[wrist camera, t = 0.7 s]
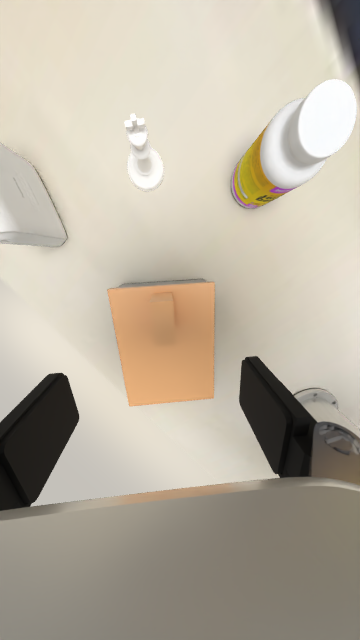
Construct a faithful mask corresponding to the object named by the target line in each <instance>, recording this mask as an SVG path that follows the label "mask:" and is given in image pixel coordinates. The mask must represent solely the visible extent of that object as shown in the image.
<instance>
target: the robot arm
mask: <svg viewBox="0 0 360 640" xmlns="http://www.w3.org/2000/svg"><path fill="white" fill-rule="evenodd" d="M239 402H240V406H241V408H242V410H243V412H244V414H245V416H246V418H247V420H248V422H249V424H250V426H251V428H252V430H253V432H254V434H255V436H256V438H257V440H258V442H259V444H260V446H261V448H262V450H263V452H264V454H265V456H266V458H267V460H268V462H269V464H270V466H271V468H272V470H273V472H274V473H275V474H278V475H279V477H280V478H275V479H264V480H253V481H243V482H234V483H225V484H216V485H207V486H200V487H190V488H181V489H173V490H164V491H156V492H147V493H138V494H130V495H122V496H114V497H105V498H97V499H89V500H81V501H73V502H65V503H57V504H49V505H41V506H33V507H30V505H31V504H32V503H33V502H35V501H36V500H37V498H38V497H39V495H40V492H41V491H42V489H43V487H44V485H45V483H46V481H47V479H48V478H49V476H50V474H51V472H52V470H53V468H54V466H55V464H56V463H57V461H58V459H59V457H60V455H61V453H62V451H63V449H64V448H65V446H66V444H67V442H68V440H69V438H70V436H71V434H72V433H73V431H74V429H75V427H76V425H77V423H78V421H79V413H78V410H77V407H76V403H75V400H74V397H73V394H72V390H71V387H70V384H69V381H68V378H67V376H66V375H64V374H63V373H54V374H49V375H47V376H46V377H45V378H44V379H43V380H42V381H41V382H40V383H39V384H38V385H37V386H36V387H35V388H34V389H33V390H32V391H31V392H30V393H29V394H28V395H27V396H26V397H25V398H24V399H23V400H22V401H21V402H20V404H18V405H17V406H16V407H15V408H14V409H13V410H12V411H11V412H10V413H9V414H8V415H7V416H6V417H5V418H4V419H3V420H2V421H1V422H0V640H360V430H359V429H358V428H357V427H356V426H355V425H354V424H353V423H352V422H351V421H349V420H348V419H347V418H346V417H345V416H344V415H343V414H342V413H341V412H339V411H338V403H337V400H336V399H335V397H334V396H333V395H331V394H330V393H329V392H327V391H325V390H322V389H309V390H305V391H302V392H300V393H298V394H296V395H294V396H293V395H292V393H291V392H290V391H289V390H288V389H287V388H286V387H285V386H284V385H283V384H282V382H280V381H279V380H278V379H277V378H276V377H275V375H274V374H273V373H272V372H271V371H270V370H269V369H268V368H267V367H266V366H265V364H264V363H263V362H262V361H261V360H260V359H259V358H258V357H257V356H253V357H246V358H245V360H242V367H241V381H240V396H239Z"/></svg>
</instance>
